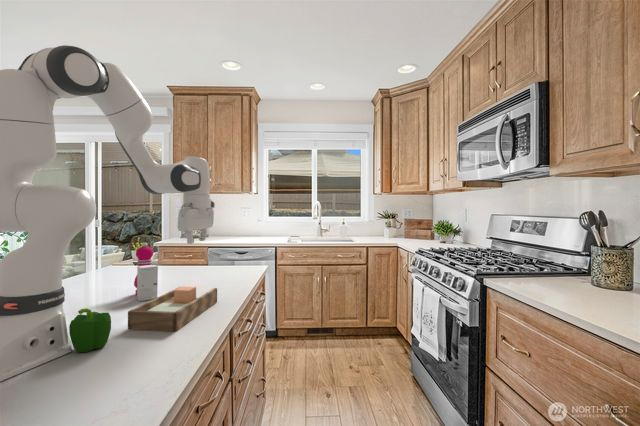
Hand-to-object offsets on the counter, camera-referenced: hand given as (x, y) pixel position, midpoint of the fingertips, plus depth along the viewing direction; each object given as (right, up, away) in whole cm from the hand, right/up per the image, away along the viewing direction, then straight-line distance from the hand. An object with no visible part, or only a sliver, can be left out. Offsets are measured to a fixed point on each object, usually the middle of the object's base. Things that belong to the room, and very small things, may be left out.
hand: (196, 242), depth 116 cm
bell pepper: (-11, -22, -37) cm, 45 cm away
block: (-1, -19, -8) cm, 20 cm away
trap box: (-1, -22, -12) cm, 25 cm away
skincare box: (-20, -22, +5) cm, 30 cm away
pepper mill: (-24, -21, +11) cm, 34 cm away
